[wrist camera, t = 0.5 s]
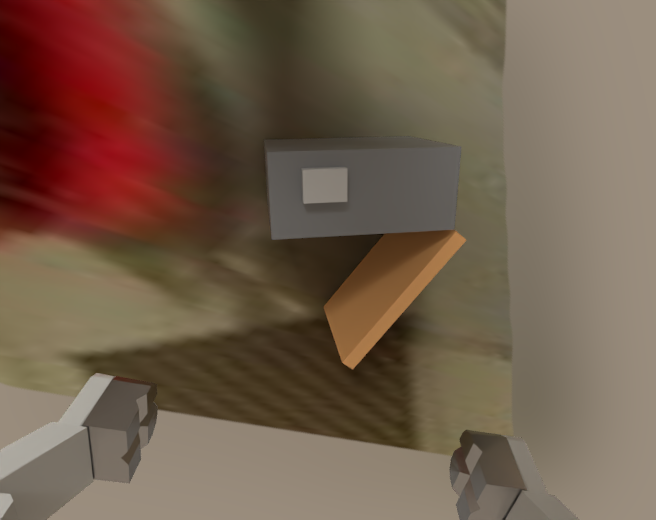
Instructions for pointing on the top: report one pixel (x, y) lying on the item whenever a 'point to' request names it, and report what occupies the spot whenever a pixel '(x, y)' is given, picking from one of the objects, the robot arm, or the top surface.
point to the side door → (385, 287)
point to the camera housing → (360, 186)
